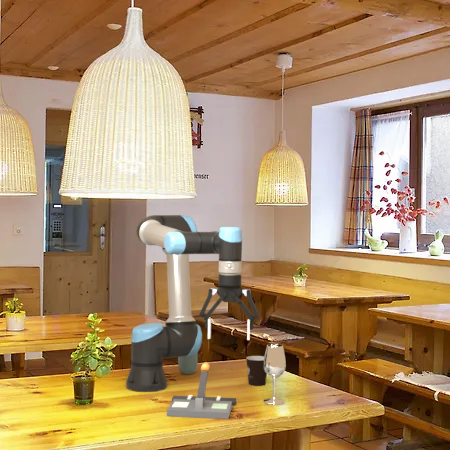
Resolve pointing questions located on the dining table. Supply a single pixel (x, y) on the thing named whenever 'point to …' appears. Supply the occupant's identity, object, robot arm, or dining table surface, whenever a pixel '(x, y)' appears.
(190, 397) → the dressed cords
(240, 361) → the dining table surface
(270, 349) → the wineglass
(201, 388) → the breaker lever
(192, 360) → the cup
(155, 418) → the dining table surface
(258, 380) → the coffee mug
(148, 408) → the dining table surface
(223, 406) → the breaker panel
